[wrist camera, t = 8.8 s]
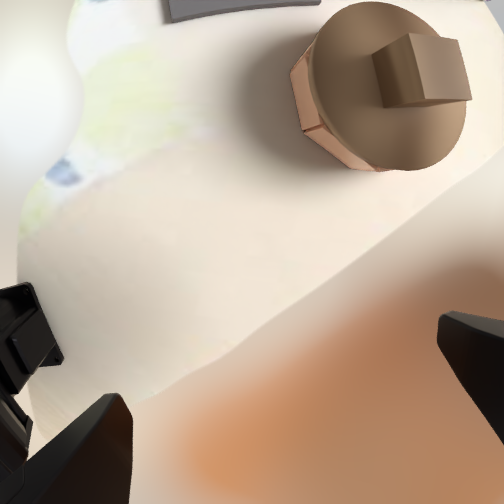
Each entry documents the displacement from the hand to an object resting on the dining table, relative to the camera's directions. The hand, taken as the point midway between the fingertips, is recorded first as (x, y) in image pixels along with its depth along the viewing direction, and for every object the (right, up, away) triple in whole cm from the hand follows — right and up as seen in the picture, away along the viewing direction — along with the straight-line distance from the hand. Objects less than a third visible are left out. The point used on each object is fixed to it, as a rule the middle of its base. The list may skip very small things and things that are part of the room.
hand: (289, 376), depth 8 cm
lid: (+6, +12, +6) cm, 15 cm away
